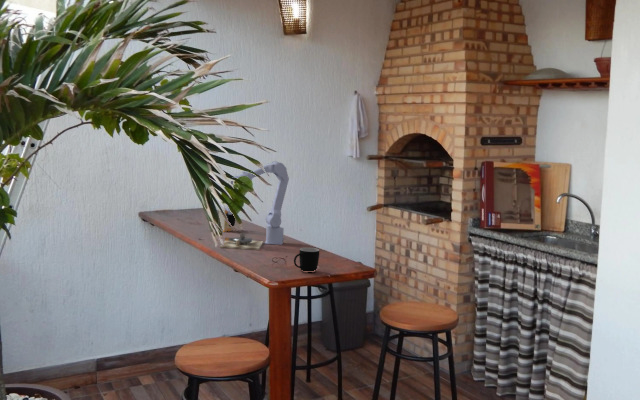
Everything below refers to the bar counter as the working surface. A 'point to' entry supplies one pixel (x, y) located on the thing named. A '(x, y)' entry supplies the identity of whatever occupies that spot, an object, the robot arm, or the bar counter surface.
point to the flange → (239, 239)
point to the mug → (308, 259)
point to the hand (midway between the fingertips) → (231, 226)
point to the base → (242, 244)
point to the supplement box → (224, 222)
